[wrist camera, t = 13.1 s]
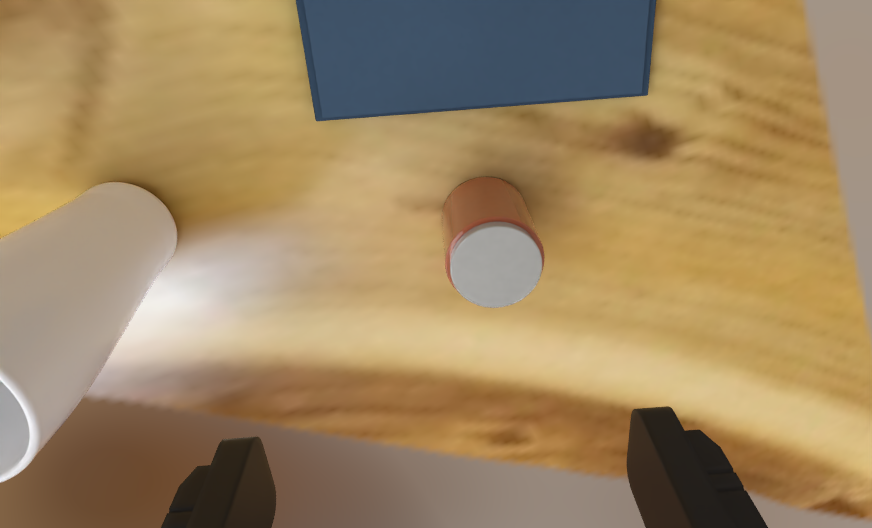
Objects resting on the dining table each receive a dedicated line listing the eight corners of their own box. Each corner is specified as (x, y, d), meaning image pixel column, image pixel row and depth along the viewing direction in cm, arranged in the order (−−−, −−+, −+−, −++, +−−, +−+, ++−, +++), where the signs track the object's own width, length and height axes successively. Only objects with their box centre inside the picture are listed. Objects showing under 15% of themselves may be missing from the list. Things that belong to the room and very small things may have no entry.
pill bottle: (438, 180, 32) (442, 226, 26) (526, 173, 31) (547, 218, 26) (444, 257, 34) (448, 315, 28) (526, 251, 34) (546, 308, 28)
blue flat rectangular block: (288, -67, 26) (283, -68, 25) (656, -98, 26) (668, -100, 25) (318, 116, 30) (314, 122, 29) (641, 91, 30) (650, 96, 28)
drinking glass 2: (37, 191, 31) (-247, 368, 18) (149, 145, 30) (-64, 296, 17) (113, 295, 34) (-81, 514, 21) (218, 256, 33) (83, 459, 20)
